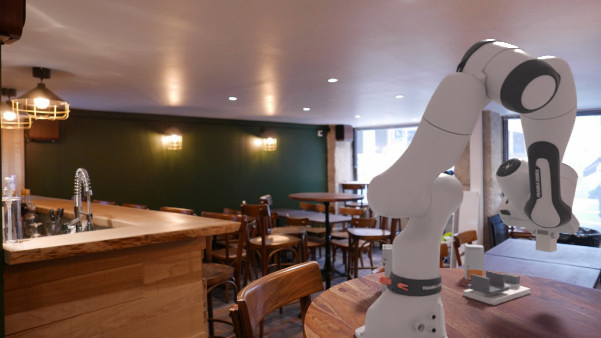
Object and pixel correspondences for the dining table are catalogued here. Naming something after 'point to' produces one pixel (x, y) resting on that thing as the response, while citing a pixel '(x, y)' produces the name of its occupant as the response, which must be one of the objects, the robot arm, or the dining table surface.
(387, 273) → the circuit breaker
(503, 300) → the board
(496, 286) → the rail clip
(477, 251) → the skincare box
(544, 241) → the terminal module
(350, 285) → the dining table surface
